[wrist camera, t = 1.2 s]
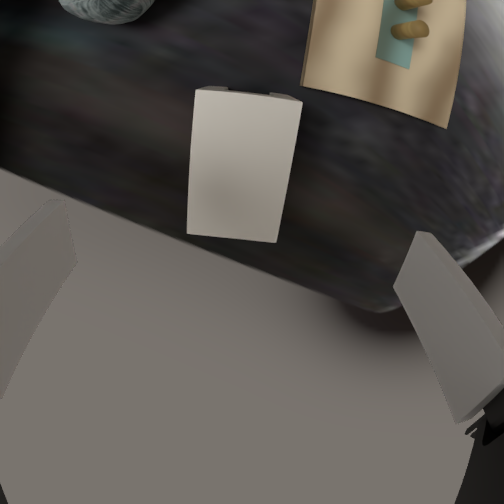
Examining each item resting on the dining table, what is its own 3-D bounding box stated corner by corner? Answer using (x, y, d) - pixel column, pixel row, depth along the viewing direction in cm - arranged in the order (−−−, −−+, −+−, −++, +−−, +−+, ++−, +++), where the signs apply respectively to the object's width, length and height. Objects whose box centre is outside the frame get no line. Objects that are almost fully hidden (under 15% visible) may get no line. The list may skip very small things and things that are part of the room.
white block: (200, 195, 27) (187, 233, 21) (209, 85, 22) (195, 89, 16) (269, 202, 28) (276, 242, 22) (288, 94, 22) (302, 102, 16)
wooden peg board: (299, 85, 22) (313, 88, 17) (326, -94, 11) (341, -120, 6) (438, 125, 23) (472, 140, 18) (458, -38, 12) (490, -46, 7)
